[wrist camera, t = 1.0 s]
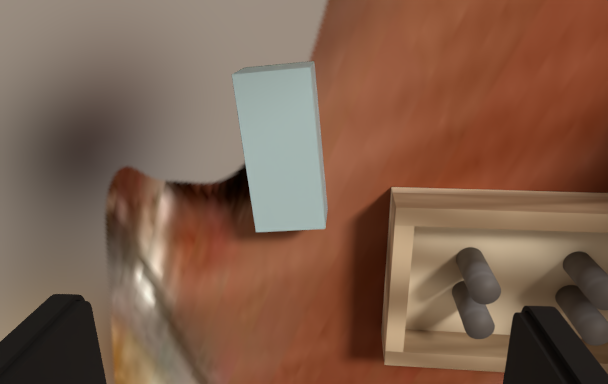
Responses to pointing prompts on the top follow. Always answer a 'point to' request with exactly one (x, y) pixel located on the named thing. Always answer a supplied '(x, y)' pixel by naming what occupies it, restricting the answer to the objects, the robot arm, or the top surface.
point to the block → (282, 145)
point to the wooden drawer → (490, 272)
